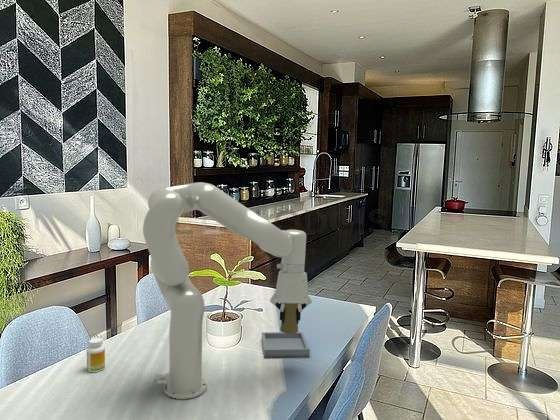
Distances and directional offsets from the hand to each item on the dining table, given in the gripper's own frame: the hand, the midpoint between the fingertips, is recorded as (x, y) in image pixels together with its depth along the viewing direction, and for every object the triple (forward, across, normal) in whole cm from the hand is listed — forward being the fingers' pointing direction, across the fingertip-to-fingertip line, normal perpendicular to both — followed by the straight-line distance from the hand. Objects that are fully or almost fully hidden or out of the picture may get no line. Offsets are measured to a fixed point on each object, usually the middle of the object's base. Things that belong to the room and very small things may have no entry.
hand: (289, 321), depth 146 cm
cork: (+3, 0, 0) cm, 3 cm away
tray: (+16, +1, +16) cm, 23 cm away
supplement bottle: (+18, -62, +2) cm, 65 cm away
